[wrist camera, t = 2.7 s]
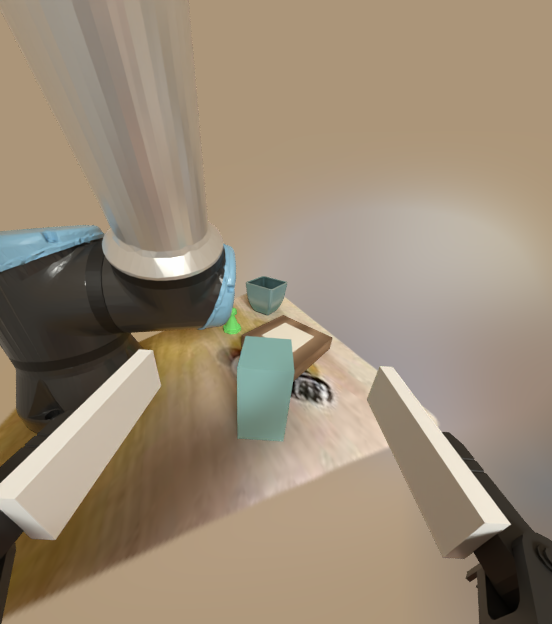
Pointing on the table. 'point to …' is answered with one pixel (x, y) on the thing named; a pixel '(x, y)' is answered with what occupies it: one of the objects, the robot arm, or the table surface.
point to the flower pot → (265, 294)
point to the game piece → (232, 324)
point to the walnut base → (295, 341)
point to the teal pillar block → (264, 388)
